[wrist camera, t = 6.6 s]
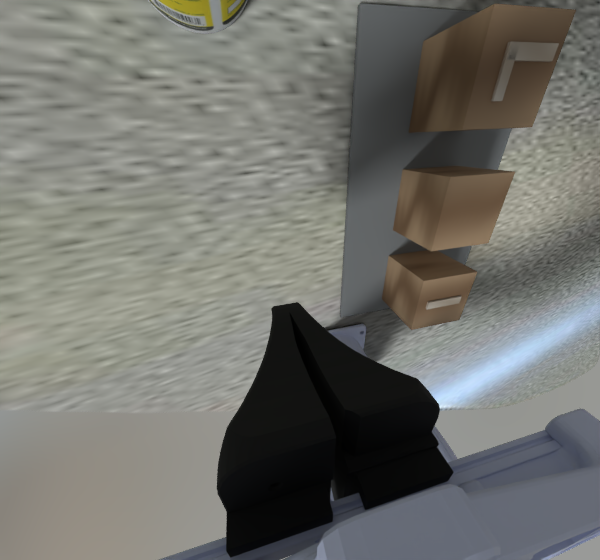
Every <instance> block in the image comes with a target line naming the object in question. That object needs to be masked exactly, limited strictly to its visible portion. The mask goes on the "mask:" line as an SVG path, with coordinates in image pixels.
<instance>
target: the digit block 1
mask: <svg viewBox="0 0 600 560" xmlns="http://www.w3.org/2000/svg"><path fill="white" fill-rule="evenodd" d="M476 274H477V271H475V270H473V269H471V268H469V267H467V266H465V265H463V264H462V263H460V262H458V261H456V260H454V259H452V258H450V257H448V256H446V255H445V254H443V253H441V252H439V251H430V250H424V251H417V252H410V253H403V254H396V255H389V257H388V263H387V269H386V275H385V282H384V288H383V294H382V300H383V301H384V302H385V303H386V304H387V305H388V306H389V307H390V308H391V309H392V310H393V311H394V312H395V313H396V314H397V315H398V317H399V318H400V319H401V320H402V321H403V322H404V323H405V324H406V325H407V326H408V327H409V328H410V329H411V330H413V329H418V328H423V327H427V326H432V325H437V324H442V323H446V322H451V321H456V320H459V319H460V317H461V314H462V311H463V309H464V306H465V304H466V301H467V298H468V296H469V293H470V290H471V288H472V285H473V282H474V280H475V277H476Z"/></svg>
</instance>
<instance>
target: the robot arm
mask: <svg viewBox="0 0 600 560" xmlns="http://www.w3.org/2000/svg"><path fill="white" fill-rule="evenodd" d="M361 331H362V332H361ZM365 335H366V326H365V325H364V324H359V325H354V326H349V327H344V328H338V329H333V330H328V331H327V330H326V329H325V328H323V327H322V326H321V325H320V324H319V323H318V322H317V321H316V320H315V319H314V318H313V317H312V316H311V315H310V314H309V313H308V312H307V311H306V310H305V309H304V308H303V307H302V306H301V305H300V304H299V303H298V302H297V303H291V304H285V305H279V306H274V307H273V308H272V326H271V332H270V337H269V341H268V344H267V348H266V352H265V355H264V358H263V360H262V363H261V366H260V368H259V371H258V373H257V375H256V378H255V380H254V382H253V384H252V386H251V388H250V390H249V392H248V393H247V395H246V397H245V399H244V401H243V403H242V404H241V406H240V408H239V409H238V411H237V413H236V414H235V416H234V417H233V419H232V420H231V422H230V424H229V425H228V427H227V430H226V433H225V437H224V440H223V444H222V448H221V452H220V458H219V463H218V474H217V475H218V476H217V490H218V495H219V497H220V499H221V501H222V503H223V505H224V507H225V509H226V511H227V532H226V537H225V538H222V539H219V540H216V541H213V542H210V543H207V544H204V545H201V546H198V547H195V548H192V549H189V550H186V551H183V552H180V553H177V554H175V555H171V556H168V557H165V558H162V559H159V560H280V559H283V558H285V557H287V558H285V559H283V560H549V559H551V558H553V557H555V556H557V555H559V554H562V553H564V552H566V551H568V550H570V549H571V548H574V547H576V546H578V545H580V544H582V543H584V542H586V541H588V540H590V539H593V538H595V537H597V536H599V535H600V421H599V420H598V419H596V418H595V417H594V416H592V415H591V414H590V413H588V412H587V411H586V410H584V409H577V410H574V411H571V412H568V413H565V414H562V415H560V416H557V417H556V418H554V419H553V420H551V421H550V422H549V423H548V425H547V426H546V428H545V430H543V431H540V432H537V433H534V434H532V435H528V436H525V437H523V438H519V439H516V440H513V441H511V442H508V443H505V444H502V445H499V446H496V447H493V448H490V449H487V450H484V451H481V452H478V453H475V454H472V455H469V456H466V457H463V458H460V459H457V457H456V455H454V452H453V451H452V449H451V448H450V446H449V445H448V443H447V442H446V441H445V439H444V438H443V436H442V435H441V434H440V432H439V431H438V430H437V428H436V427H435V426H434V425H435V423H436V421H437V419H438V415H439V411H440V408H439V404H438V403H437V401H436V400H435V399H434V398H433V396H432V395H431V394H430V392H429V391H428V390H427V389H426V388H425V387H424V385H423V384H422V383H421V382H420V381H419V380H418V379H417V378H414V377H411V376H409V375H406V374H403V373H401V372H398V371H395V370H393V369H390V368H388V367H386V366H384V365H382V364H379V363H377V362H375V361H373V360H371V359H369V358H368V357H367V355H366V354H365V352H364V343H365ZM291 555H292V556H291ZM288 556H289V557H288Z"/></svg>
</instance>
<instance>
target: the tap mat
mask: <svg viewBox="0 0 600 560" xmlns="http://www.w3.org/2000/svg"><path fill="white" fill-rule="evenodd" d="M478 12H480V11H465V10H450V9H435V8H421V7H406V6H391V5H376V4H361V3H360V4H359V5H358V16H357V33H356V50H355V67H354V84H353V101H352V118H351V135H350V152H349V169H348V187H347V204H346V221H345V238H344V255H343V272H342V289H341V306H340V317H347V316H352V315H357V314H363V313H368V312H373V311H379V310H384V309H389V308H390V307H389V306H388V305H387V304H386V303H385V302H384V301H383V300H382V294H383V288H384V282H385V275H386V269H387V263H388V257H389V255H396V254H403V253H410V252H417V251H424V250H428V249H426V248H424V247H422V246H421V245H419V244H417V243H415V242H413V241H412V240H410V239H408V238H406V237H404V236H402V235H401V234H399V233H397V232H395V231H393V226H394V220H395V213H396V207H397V201H398V195H399V189H400V183H401V176H402V170H403V169H417V168H431V167H444V166H464V167H474V168H483V169H493V170H498V167H499V164H500V162H501V159H502V156H503V153H504V150H505V147H506V144H507V141H508V138H509V135H510V132H511V129H512V128H504V129H484V130H465V131H440V132H416V133H409V127H410V121H411V114H412V108H413V102H414V96H415V90H416V83H417V77H418V71H419V65H420V59H421V52H422V46H423V41H425V40H427V39H429V38H431V37H433V36H435V35H436V34H438V33H440V32H442V31H444V30H446V29H448V28H450V27H452V26H453V25H455V24H457V23H459V22H461V21H463V20H465V19H467V18H469V17H470V16H472V15H474V14H476V13H478ZM470 249H471V246H465V247H458V248H451V249H444V250H437V251H439V252H441V253H443V254H445V255H446V256H448V257H450V258H452V259H454V260H456V261H458V262H460V263H462V264H463V265H465V264H466V261H467V258H468V255H469V252H470Z"/></svg>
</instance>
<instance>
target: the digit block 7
mask: <svg viewBox="0 0 600 560" xmlns="http://www.w3.org/2000/svg"><path fill="white" fill-rule="evenodd" d="M575 12H576V10H572V9H559V8H545V7H532V6H519V5H506V4H493V5H491V6H489V7H487V8H485V9H484V10H482V11H480V12H478V13H476V14H474V15H472V16H470V17H469V18H467V19H465V20H463V21H461V22H459V23H457V24H455V25H453V26H452V27H450V28H448V29H446V30H444V31H442V32H440V33H438V34H436V35H435V36H433V37H431V38H429V39H427V40H425V41H423V46H422V52H421V59H420V65H419V71H418V77H417V83H416V90H415V96H414V102H413V108H412V114H411V121H410V127H409V133H416V132H440V131H465V130H484V129H504V128H523V127H532V126H533V123H534V121H535V118H536V115H537V113H538V110H539V107H540V105H541V102H542V99H543V97H544V94H545V91H546V89H547V86H548V83H549V81H550V78H551V75H552V73H553V70H554V67H555V65H556V62H557V60H558V57H559V54H560V52H561V49H562V46H563V44H564V41H565V38H566V36H567V33H568V30H569V28H570V25H571V22H572V20H573V17H574V14H575Z"/></svg>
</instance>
